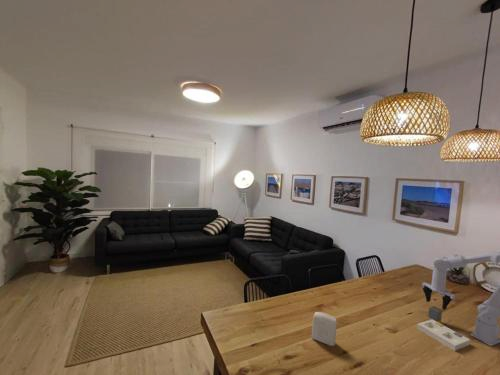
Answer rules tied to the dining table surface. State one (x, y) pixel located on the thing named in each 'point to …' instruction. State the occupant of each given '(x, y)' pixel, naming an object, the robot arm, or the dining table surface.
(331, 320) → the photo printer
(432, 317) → the plug
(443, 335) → the sorting tray
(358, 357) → the dining table surface
